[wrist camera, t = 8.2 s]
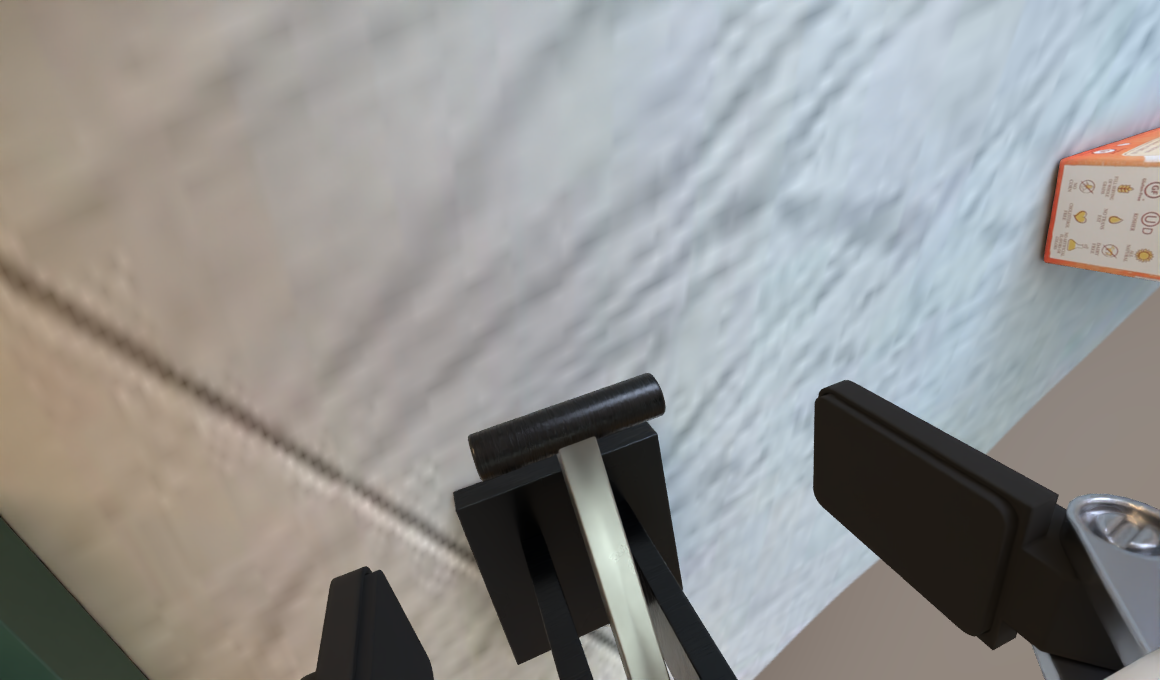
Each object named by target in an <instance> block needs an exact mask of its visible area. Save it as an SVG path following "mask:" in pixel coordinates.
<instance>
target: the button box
mask: <svg viewBox="0 0 1160 680" xmlns="http://www.w3.org/2000/svg"><path fill="white" fill-rule="evenodd" d="M0 680H148V679H147V678H146V677H145V676H144V674H143V673H142V672H141V671H140V670H139V669H138V668H137V667H136V666H135V665H134V663H133V662H132V661H131V660H130V659H129V658H128V657H127V656H126V655H125V654H124V652H123V651H122V650H121V649H120V648H119V647H118V646H117V645H116V644H115V642H114V641H113V640H112V639H111V638H110V637H109V636H108V635H107V634H106V633H105V631H104V630H103V629H102V628H101V627H100V626H99V625H98V624H97V623H96V622H95V620H94V619H93V618H92V617H91V616H90V615H89V614H88V613H87V612H86V611H85V609H84V608H83V607H82V606H81V605H80V604H79V603H78V602H77V601H76V600H75V598H74V597H73V596H72V595H71V594H70V593H69V592H68V591H67V590H66V589H65V587H64V586H63V585H62V584H61V583H60V582H59V581H58V580H57V579H56V578H55V576H54V575H53V574H52V573H51V572H50V571H49V570H48V569H47V568H46V567H45V565H44V564H43V563H42V562H41V561H40V560H39V559H38V558H37V557H36V556H35V554H34V553H33V552H32V551H31V550H30V549H29V548H28V547H27V546H26V545H25V543H24V542H23V541H22V540H21V539H20V538H19V537H18V536H17V535H16V533H15V532H14V531H13V530H12V529H11V528H10V527H9V526H8V525H7V524H6V522H5V521H4V520H3V519H2V518H1V517H0Z"/></svg>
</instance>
